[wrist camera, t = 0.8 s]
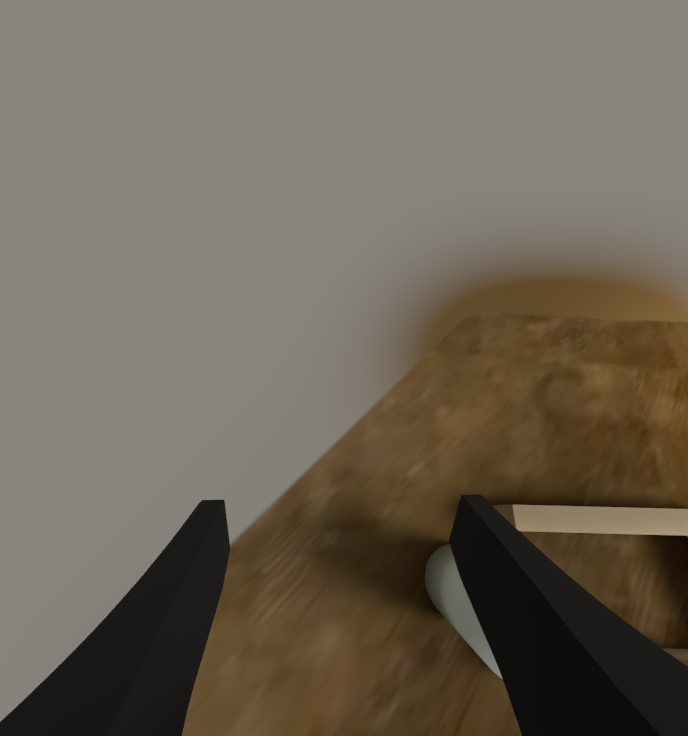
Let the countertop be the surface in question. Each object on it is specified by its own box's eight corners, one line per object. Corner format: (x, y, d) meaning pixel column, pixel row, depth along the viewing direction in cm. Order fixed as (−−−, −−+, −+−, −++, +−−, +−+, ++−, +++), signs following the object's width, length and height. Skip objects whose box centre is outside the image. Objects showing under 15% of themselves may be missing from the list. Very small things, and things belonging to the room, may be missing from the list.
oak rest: (763, 682, 19) (832, 711, 17) (517, 674, 20) (545, 700, 17) (699, 510, 23) (746, 510, 20) (492, 505, 23) (512, 504, 21)
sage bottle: (497, 622, 21) (638, 730, 11) (427, 620, 21) (502, 724, 11) (486, 544, 22) (599, 573, 12) (422, 542, 23) (482, 569, 12)
